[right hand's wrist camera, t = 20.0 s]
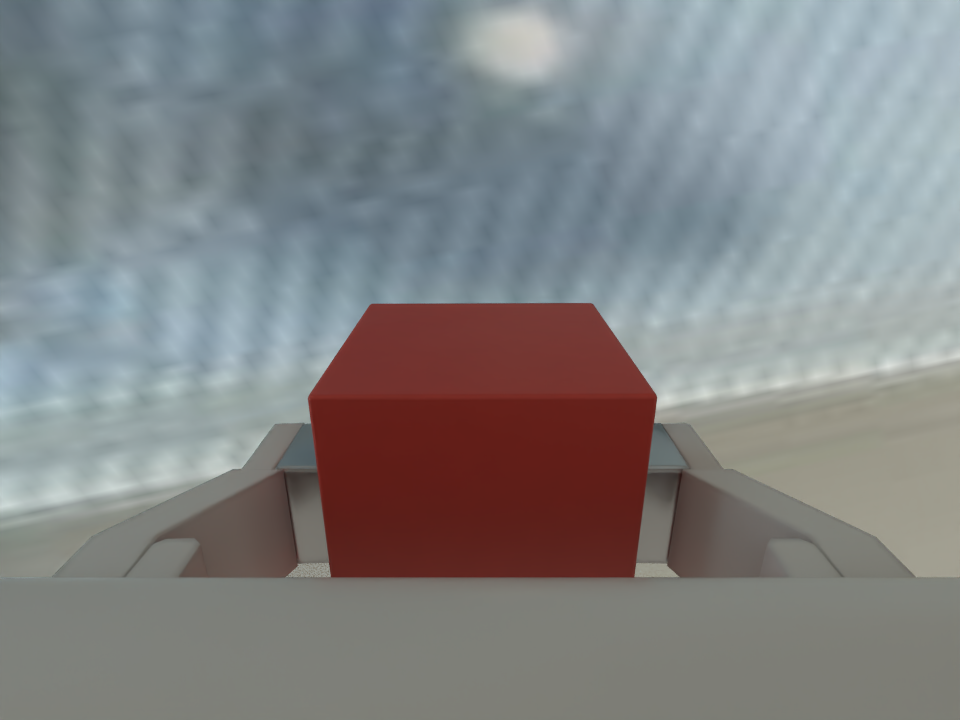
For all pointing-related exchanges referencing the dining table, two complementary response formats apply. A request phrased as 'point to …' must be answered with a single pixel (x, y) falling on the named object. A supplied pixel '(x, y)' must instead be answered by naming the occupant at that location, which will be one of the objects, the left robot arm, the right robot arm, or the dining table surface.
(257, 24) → the dining table surface
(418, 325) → the brick
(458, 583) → the right robot arm
